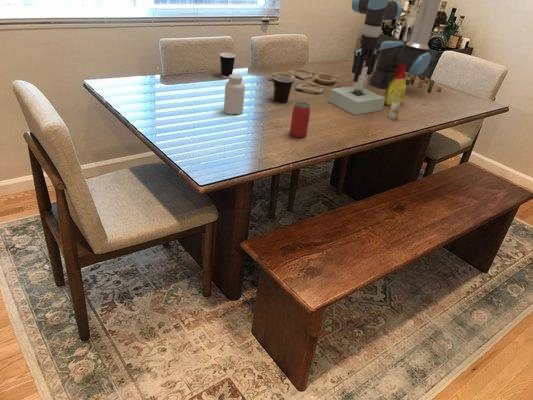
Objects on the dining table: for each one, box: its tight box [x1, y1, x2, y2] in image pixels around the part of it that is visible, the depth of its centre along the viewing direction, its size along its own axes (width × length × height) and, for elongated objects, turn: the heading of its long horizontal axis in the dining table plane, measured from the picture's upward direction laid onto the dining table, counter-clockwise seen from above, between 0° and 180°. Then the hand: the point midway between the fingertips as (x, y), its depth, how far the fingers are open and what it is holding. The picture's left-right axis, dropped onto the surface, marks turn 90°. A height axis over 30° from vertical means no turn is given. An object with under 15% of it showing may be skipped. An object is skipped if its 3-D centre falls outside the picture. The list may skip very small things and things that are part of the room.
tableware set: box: [268, 67, 341, 94], centre depth 227 cm, size 35×29×4 cm
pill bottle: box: [223, 73, 246, 115], centre depth 177 cm, size 8×8×15 cm
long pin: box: [353, 64, 368, 96], centre depth 198 cm, size 4×4×14 cm
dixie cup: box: [219, 52, 236, 79], centre depth 218 cm, size 8×8×11 cm
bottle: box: [384, 63, 407, 106], centre depth 207 cm, size 12×6×20 cm, turn 120°
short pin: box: [387, 102, 402, 121], centre depth 193 cm, size 4×4×7 cm
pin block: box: [327, 85, 385, 116], centre depth 202 cm, size 18×18×6 cm
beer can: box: [289, 101, 311, 138], centre depth 165 cm, size 7×7×12 cm
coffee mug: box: [273, 76, 294, 104], centre depth 198 cm, size 12×9×10 cm
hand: (358, 88), depth 199 cm, fingers closed on long pin, 4 cm apart
